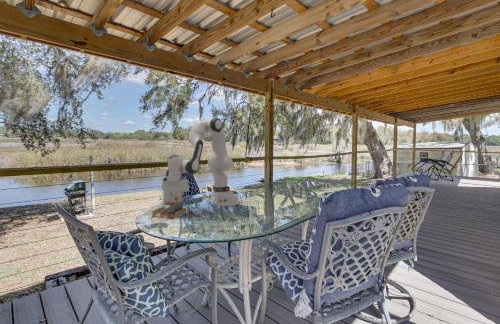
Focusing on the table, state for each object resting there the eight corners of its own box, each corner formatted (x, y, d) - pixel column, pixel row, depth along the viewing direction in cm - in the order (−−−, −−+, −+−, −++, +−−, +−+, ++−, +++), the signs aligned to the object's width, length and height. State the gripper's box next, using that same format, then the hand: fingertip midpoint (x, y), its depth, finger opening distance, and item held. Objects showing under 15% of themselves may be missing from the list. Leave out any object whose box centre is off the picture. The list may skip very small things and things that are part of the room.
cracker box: (182, 202, 239) (181, 178, 237) (180, 204, 233) (178, 179, 231) (166, 202, 240) (165, 178, 238) (163, 204, 235) (162, 179, 232)
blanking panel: (183, 211, 207) (182, 202, 206) (174, 216, 196) (173, 206, 195) (179, 211, 208) (179, 202, 207) (170, 215, 196) (169, 206, 196)
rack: (186, 212, 208) (186, 207, 208) (174, 219, 192) (174, 213, 192) (164, 210, 214) (164, 205, 214) (150, 217, 198) (150, 211, 197)
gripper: (190, 177, 199) (191, 196, 200) (165, 177, 205) (166, 195, 206) (185, 179, 193) (186, 198, 194) (160, 178, 199) (161, 197, 200)
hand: (176, 197), depth 201 cm, fingers open, 5 cm apart
